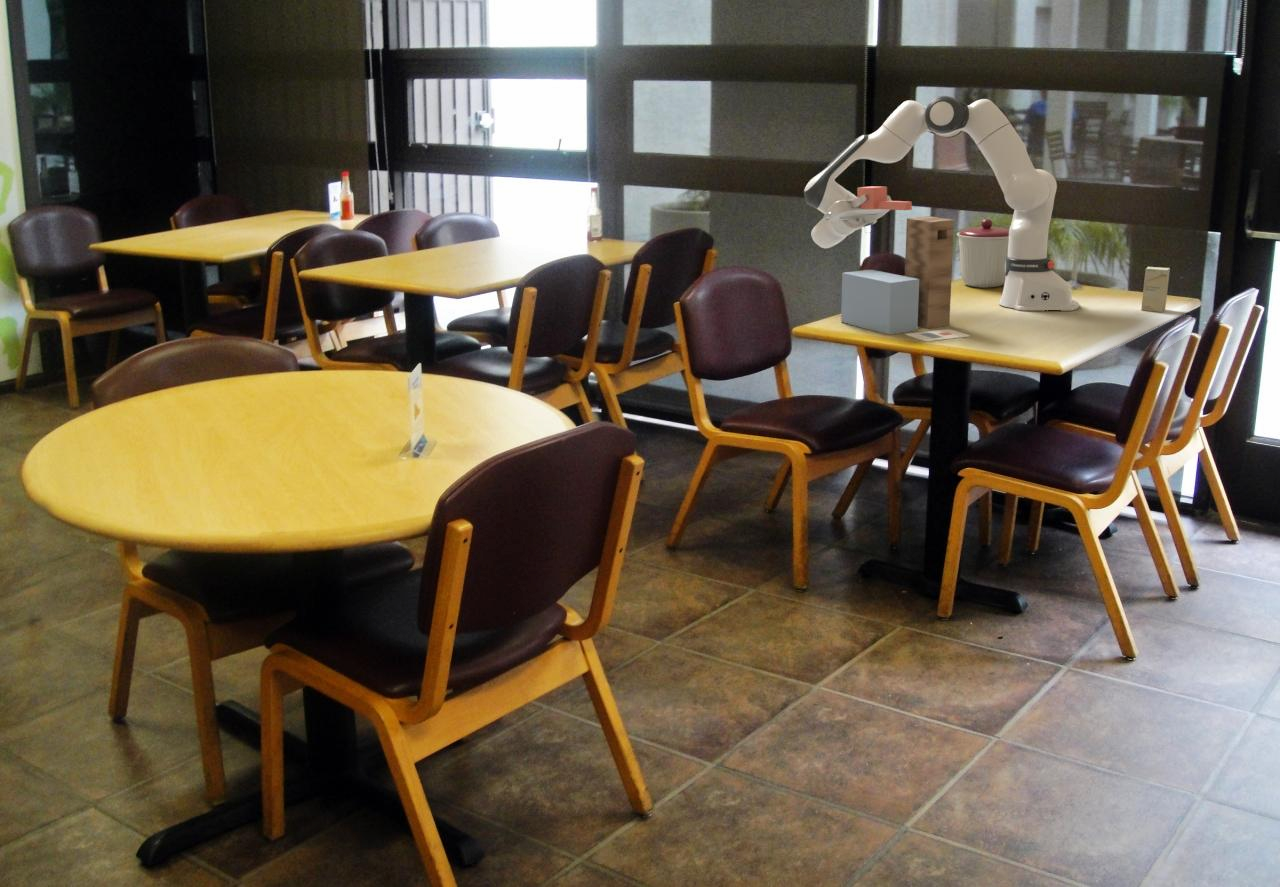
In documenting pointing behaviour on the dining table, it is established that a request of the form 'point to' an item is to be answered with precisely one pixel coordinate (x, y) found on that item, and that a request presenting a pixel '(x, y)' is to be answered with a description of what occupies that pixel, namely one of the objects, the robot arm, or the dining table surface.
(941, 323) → the stand
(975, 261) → the canister
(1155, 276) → the skincare box
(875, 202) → the peg brick
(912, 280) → the base block
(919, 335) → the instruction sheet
